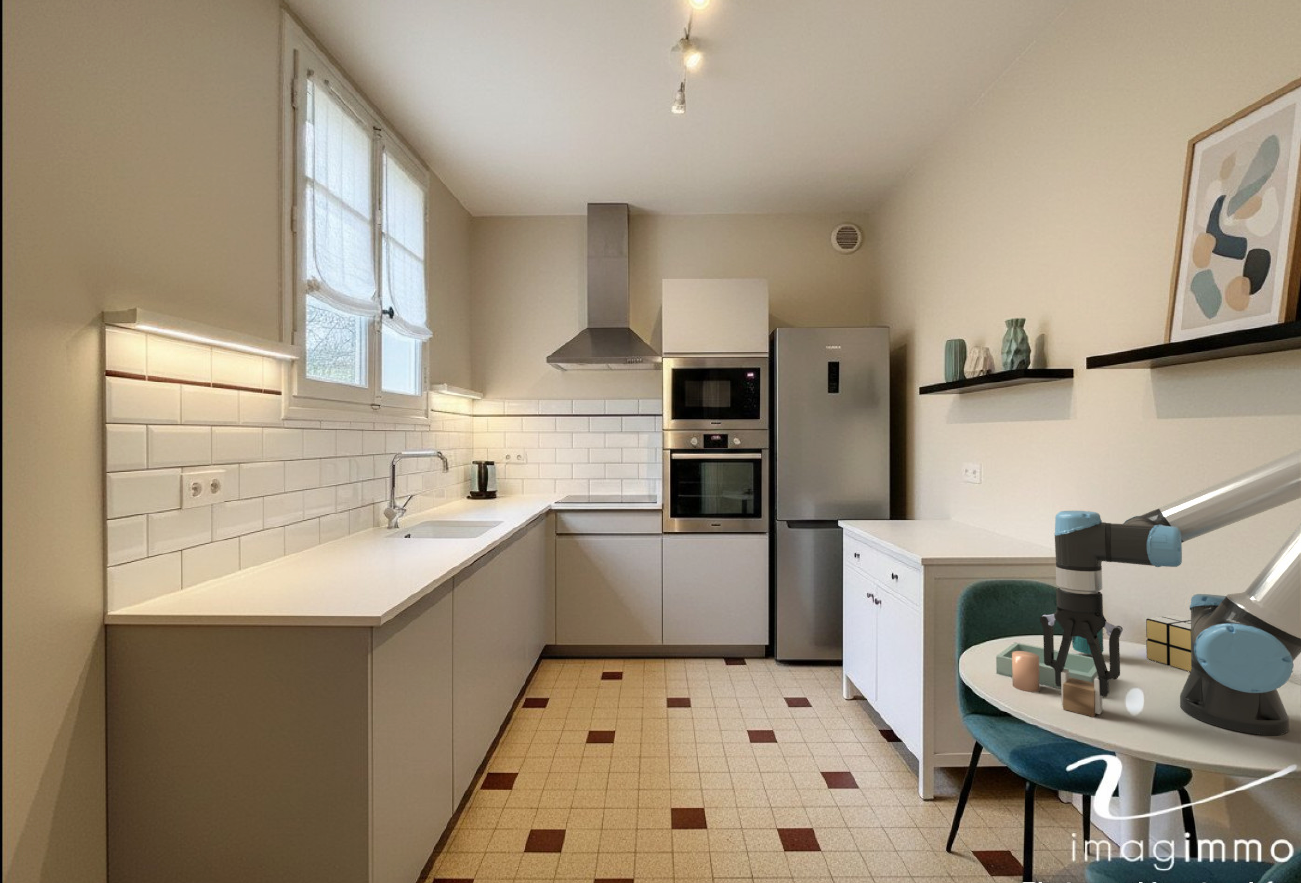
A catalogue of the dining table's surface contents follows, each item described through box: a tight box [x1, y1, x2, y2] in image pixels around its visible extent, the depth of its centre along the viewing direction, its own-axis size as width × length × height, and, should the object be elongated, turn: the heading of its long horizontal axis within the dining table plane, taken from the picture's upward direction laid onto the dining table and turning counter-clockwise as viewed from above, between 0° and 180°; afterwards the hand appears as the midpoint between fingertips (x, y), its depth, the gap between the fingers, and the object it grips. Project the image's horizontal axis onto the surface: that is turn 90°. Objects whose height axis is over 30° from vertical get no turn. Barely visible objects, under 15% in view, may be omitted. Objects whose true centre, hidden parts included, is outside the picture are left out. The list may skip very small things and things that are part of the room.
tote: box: [995, 642, 1106, 690], centre depth 140 cm, size 18×14×4 cm
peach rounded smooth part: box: [1011, 651, 1041, 693], centre depth 134 cm, size 5×5×7 cm
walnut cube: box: [1062, 677, 1097, 718], centre depth 122 cm, size 5×5×5 cm
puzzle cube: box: [1145, 614, 1192, 673], centre depth 147 cm, size 10×10×10 cm
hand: (1082, 707), depth 122 cm, fingers closed on walnut cube, 5 cm apart
